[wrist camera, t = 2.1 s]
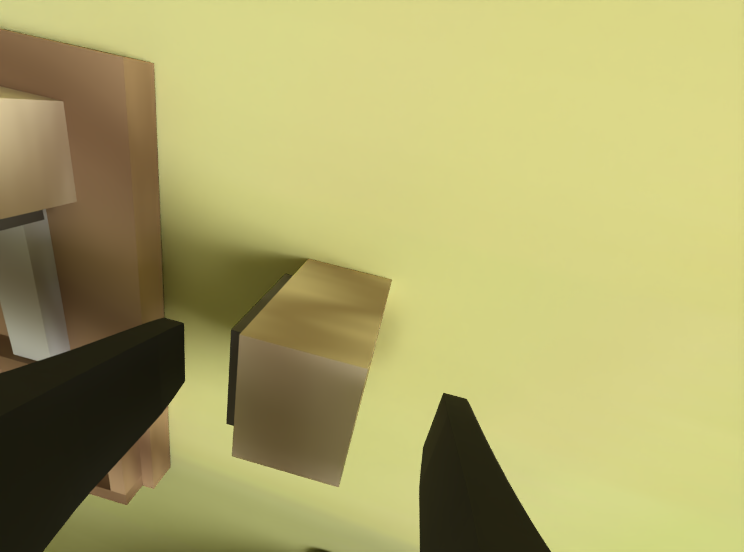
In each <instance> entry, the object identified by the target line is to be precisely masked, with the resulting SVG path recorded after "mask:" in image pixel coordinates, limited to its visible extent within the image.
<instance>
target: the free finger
mask: <svg viewBox="0 0 744 552" xmlns="http://www.w3.org/2000/svg"><path fill="white" fill-rule="evenodd" d="M391 282H392V280H391V279H387V278H383V277H379V276H375V275H371V274H367V273H363V272H359V271H355V270H352V269H348V268H344V267H340V266H336V265H332V264H328V263H324V262H320V261H316V260H312V259H308V260H307V261H306V262H305V263H304V264H303V265H302V266H301V267H300V268H299V270H298V271H297V272H296V273H295V274H294V275H293V276H292V275H288V274H285V275H284V276H283V277H282V278H281V279H280V280H279V281H278V282H277V283H276V284H275V285H274V286H273V287H272V288H271V289H270V290H269V291H268V292H267V293H266V294H265V295H264V296H263V297H262V298H261V299H260V301H259V302H258V303H257V304H256V305H255V306H254V307H253V308H252V309H251V310H250V311H249V312H248V313H247V314H246V315H245V316H244V317H243V318H242V319H241V320H240V321H239V322H238V323H237V324H236V325H235V326H234V327H233V328H232V329H231V344H230V364H229V384H228V404H227V424H229V425H233V426H234V431H233V447H232V456H233V457H237V458H240V459H243V460H247V461H250V462H254V463H257V464H261V465H264V466H267V467H271V468H274V469H278V470H281V471H285V472H288V473H291V474H295V475H298V476H302V477H305V478H309V479H312V480H315V481H319V482H322V483H326V484H329V485H333V486H336V487H339V484H340V480H341V476H342V473H343V469H344V465H345V461H346V457H347V453H348V450H349V446H350V442H351V438H352V434H353V430H354V427H355V423H356V419H357V415H358V411H359V407H360V403H361V400H362V396H363V392H364V388H365V384H366V380H367V377H368V373H369V369H370V365H371V361H372V357H373V353H374V349H375V345H376V341H377V337H378V333H379V329H380V325H381V321H382V317H383V313H384V309H385V305H386V301H387V297H388V294H389V290H390V286H391Z"/></svg>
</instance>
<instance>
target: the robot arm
mask: <svg viewBox="0 0 744 552" xmlns="http://www.w3.org/2000/svg"><path fill="white" fill-rule="evenodd" d="M184 382H185V353H184V323H182V322H178V321H174V320H170V319H167V318H160V319H156V320H153V321H150V322H147V323H144V324H141V325H139V326H136V327H133V328H130V329H127V330H125V331H122V332H119V333H117V334H114V335H111V336H108V337H106V338H103V339H100V340H97V341H95V342H92V343H89V344H86V345H83V346H81V347H78V348H75V349H72V350H70V351H67V352H64V353H61V354H58V355H55V356H52V357H49V358H46V359H43V360H39V361H36V362H33V363H30V364H27V365H24V366H21V367H18V368H15V369H12V370H9V371H6V372H2V373H0V552H43V551H44V549H45V548H46V547H47V546H48V544H49V543H50V542H51V540H52V539H53V538H54V537H55V535H56V534H57V533H58V531H59V530H60V529H61V528H62V526H63V525H64V524H65V522H66V521H67V520H68V519H69V517H70V516H71V515H72V513H73V512H74V511H75V510H76V508H77V507H78V506H79V505H80V504H81V503H82V501H83V500H84V499H85V498H86V497H87V496H88V494H89V493H90V492H91V491H92V490H93V489H94V488H95V486H96V485H97V484H98V483H99V482H100V481H101V480H102V479H103V478H104V477H105V476H106V475H107V473H108V472H109V471H110V470H111V469H112V468H113V467H114V466H115V465H116V464H117V463H118V461H119V460H120V459H121V458H122V457H123V456H124V455H125V454H126V453H127V452H128V451H129V450H130V448H131V447H132V446H133V445H134V444H135V443H136V442H137V441H138V440H139V439H140V438H141V436H142V435H143V434H144V433H145V432H146V431H147V430H148V429H149V428H150V426H151V425H152V424H153V423H154V422H155V421H156V420H157V419H158V418H159V416H160V415H161V414H162V413H163V412H164V410H165V409H166V407H167V406H168V405H169V403H170V402H171V401H172V399H173V398H174V396H175V395H176V394H177V392H178V391H179V389H180V388H181V386H182V385H183V383H184ZM419 508H420V552H551V551H550V550H549V548H548V547H547V545H546V544H545V542H544V540H543V539H542V537H541V536H540V534H539V533H538V531H537V529H536V528H535V526H534V525H533V523H532V521H531V520H530V518H529V516H528V515H527V513H526V511H525V510H524V508H523V506H522V505H521V503H520V501H519V499H518V498H517V496H516V494H515V492H514V491H513V489H512V487H511V485H510V484H509V482H508V480H507V478H506V476H505V474H504V472H503V471H502V469H501V467H500V465H499V463H498V461H497V459H496V458H495V456H494V454H493V452H492V450H491V448H490V446H489V444H488V442H487V440H486V438H485V436H484V434H483V432H482V429H481V427H480V425H479V423H478V421H477V419H476V417H475V415H474V413H473V410H472V408H471V406H470V404H469V402H468V401H467V399H465V398H461V397H457V396H453V395H450V394H446V393H443V396H442V398H441V401H440V404H439V406H438V409H437V412H436V414H435V417H434V420H433V422H432V425H431V428H430V430H429V433H428V436H427V438H426V441H425V444H424V446H423V454H422V464H421V474H420V485H419Z"/></svg>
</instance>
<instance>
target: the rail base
mask: <svg viewBox="0 0 744 552" xmlns="http://www.w3.org/2000/svg"><path fill="white" fill-rule="evenodd" d="M160 318H164V299H163V275H162V250H161V226H160V201H159V177H158V152H157V128H156V103H155V79H154V63H150V62H146V61H141V60H137V59H133V58H128V57H124V56H119V55H115V54H111V53H106V52H102V51H97V50H93V49H88V48H84V47H80V46H75V45H71V44H66V43H62V42H58V41H53V40H49V39H44V38H40V37H36V36H31V35H27V34H22V33H18V32H13V31H9V30H5V29H0V373H2V372H6V371H9V370H12V369H15V368H18V367H21V366H24V365H27V364H30V363H33V362H36V361H39V360H43V359H46V358H49V357H52V356H55V355H58V354H61V353H64V352H67V351H70V350H72V349H75V348H78V347H81V346H83V345H86V344H89V343H92V342H95V341H97V340H100V339H103V338H106V337H108V336H111V335H114V334H117V333H119V332H122V331H125V330H127V329H130V328H133V327H136V326H139V325H141V324H144V323H147V322H150V321H153V320H156V319H160ZM169 468H170V446H169V422H168V406H167V407H166V409H165V410H164V412H163V413H162V414H161V415H160V416H159V418H158V419H157V420H156V421H155V422H154V423H153V424H152V425H151V426H150V428H149V429H148V430H147V431H146V432H145V433H144V434H143V435H142V436H141V438H140V439H139V440H138V441H137V442H136V443H135V444H134V445H133V446H132V447H131V448H130V450H129V451H128V452H127V453H126V454H125V455H124V456H123V457H122V458H121V459H120V460H119V461H118V463H117V464H116V465H115V466H114V467H113V468H112V469H111V470H110V471H109V472H108V473H107V475H106V476H105V477H104V478H103V479H102V480H101V481H100V482H99V483H98V484H97V485H96V486H95V488H94V489H93V490H92V491H91V492H90V493H89V494H92V495H95V496H99V497H102V498H105V499H108V500H112V501H115V502H118V503H122V504H125V505H127V504H128V503H129V502H130V500H131V499H132V498H133V497H134V495H135V494H136V493H137V492H138V490H139V489H140V488H141V487H142V485H143V486H146V487H149V488H153V489H154V488H155V486H156V485H157V484H158V483H159V481H160V480H161V479H162V477H163V476H164V475H165V473H166V472H167V471H168V469H169Z"/></svg>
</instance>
